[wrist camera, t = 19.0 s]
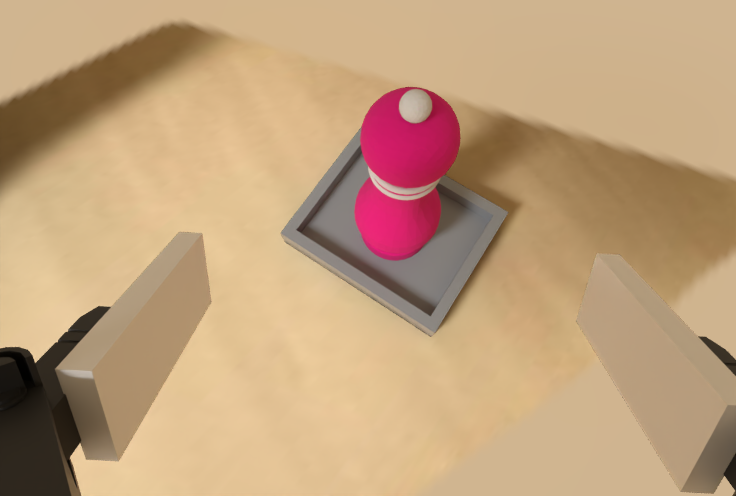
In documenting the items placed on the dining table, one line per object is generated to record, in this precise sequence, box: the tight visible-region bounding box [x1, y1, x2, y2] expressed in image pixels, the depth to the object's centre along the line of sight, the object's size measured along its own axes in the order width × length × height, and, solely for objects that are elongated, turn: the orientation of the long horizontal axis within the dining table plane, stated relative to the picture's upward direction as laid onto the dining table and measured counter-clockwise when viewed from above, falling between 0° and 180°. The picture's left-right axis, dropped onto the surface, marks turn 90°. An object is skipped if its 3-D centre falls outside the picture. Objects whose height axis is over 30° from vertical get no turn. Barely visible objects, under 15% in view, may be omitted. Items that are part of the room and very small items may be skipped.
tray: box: [281, 127, 508, 337], centre depth 43 cm, size 16×13×2 cm
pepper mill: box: [354, 87, 460, 261], centre depth 34 cm, size 7×7×20 cm
